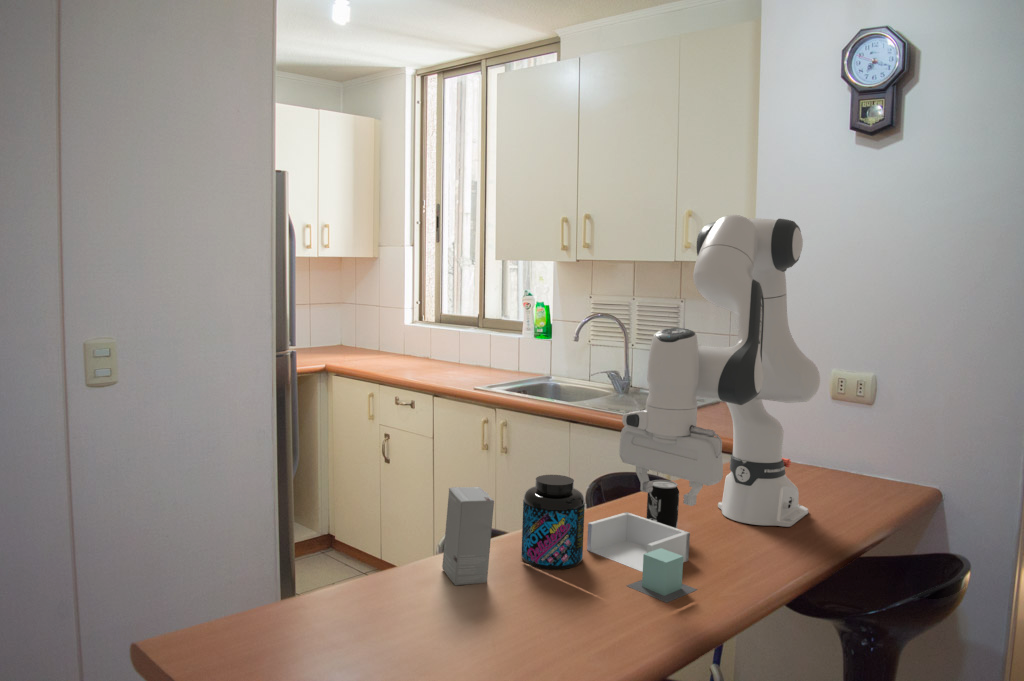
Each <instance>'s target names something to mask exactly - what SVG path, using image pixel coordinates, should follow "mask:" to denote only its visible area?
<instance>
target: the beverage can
mask: <svg viewBox="0 0 1024 681" xmlns="http://www.w3.org/2000/svg"><path fill="white" fill-rule="evenodd" d="M650 481H651V482H653V486H652V487H653V490H652V492H649V493H647V502H646V518H647V519H650V520H653V521H656V522H659V523H662V524H665V525H668V526H671V527H674V528H677V529H678V522H679V506H680V505H679V504H680V502H679V501H680V490H679V488H678V483H677V482H674V481H672V480H668V479H667V480H666V479H655V480H650Z"/></svg>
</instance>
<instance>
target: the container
mask: <svg viewBox="0 0 1024 681" xmlns="http://www.w3.org/2000/svg"><path fill="white" fill-rule="evenodd" d="M522 502H523V503H522V526H521V527H522V528H521V529H522V530H521V532H522V533H521V558H522V559H523V561H524V562H525V563H526V564H528V565H529V566H531V567H533V568H538V569H541V570H542V569H543V570H550V571H552V570H555V571H558V570H560V571H562V570H568V569H572V568H574V567H577V566H578V565H580V564H581V562H582V561H583V552H584V550H583V549H584V530H585V529H584V528H585V524H584V523H585V507H586V506H585V505H586V504H585V503H586V502H585V496H584V494H583V493H582V492H581V491H580V490H579V489H577V488H575V480H574V478H572V477H570V476H567V475H561V474H543V475H539V476H537V477H536V478H535V486H532V487H531V486H530V488H528V489H527V490H526V491H525V492H524V494H523V499H522Z"/></svg>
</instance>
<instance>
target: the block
mask: <svg viewBox="0 0 1024 681" xmlns="http://www.w3.org/2000/svg"><path fill="white" fill-rule="evenodd" d="M683 567H684V562H683V556H681V555H679V554H676V553H673V552H670V551H667V550H665V549H662V548H660V549H657V550H654V551H651V552H648V553H645V554H644V555H643V572H642V576H641V580H642V587H644V588H647V589H649V590H652V591H654V592H656V593H659V594H661V595H664V596H665V595H668V594H670V593H672V592H675V591H677V590H680V589H682V584H683V571H684V570H683Z"/></svg>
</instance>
